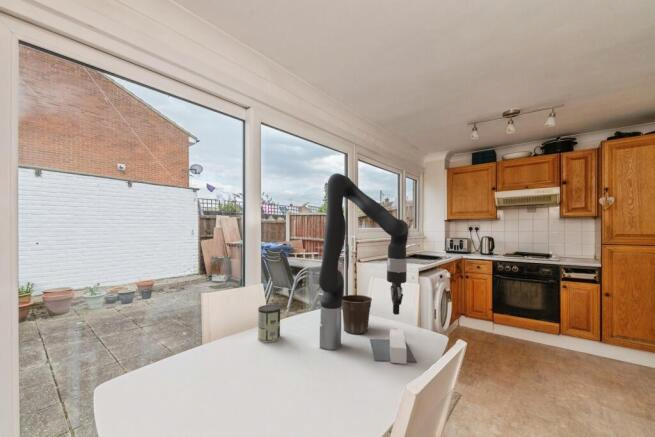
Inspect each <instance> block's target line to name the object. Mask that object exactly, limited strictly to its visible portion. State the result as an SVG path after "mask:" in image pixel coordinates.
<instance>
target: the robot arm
mask: <svg viewBox="0 0 655 437" xmlns="http://www.w3.org/2000/svg"><path fill="white" fill-rule="evenodd" d="M326 185H327V186H326V199H327V200H326V213H325V214H326V216H325V225H324V235H323V248H322V258H321V259H322V261H321V267H320V271H319V275H318V276H319V277H318V285H319V288H320V289H321V290H322V292H323V293H322V294H323V295H322V296H321V299H320V324H319V349H324V350H328V351H329V350H331V351H332V350H337V349H340V348H341V346H342V299H343V296H344V276H343V274H342V272H341V271H340V270H339V260H340V256H341V254H342V250H343V248H344V246H345V245H344V244H345V241H346V232H347V223H346V218H345V213H344V209H343V205H344V204H343V203H344V198H345V199H346V200H349V201H351V202H352V203H353V204H354V205H355V206H357V207H358V208H359V210H361V212H363V214H364V215H365V216H367V217H368V218H369V219H371V221H373V222H374V223H375V224H377V225H378V226H379V227H380V228H381V229H382V230H383V231H384V232H385V233H387V235H389V236H390V243H389V244H388V246H387V261H386V281H387V282H389V283H391V286H390V294H391V295H390V296H391V297H390V298H391V302H392V313H393V315H396V316H397V315H399V316H400V305H402V301H403V297H404V294H403V287H402V284H405V283H407V275H408V274H407V243H408V237H409V226H408V224H407V222H406V221H405V220H403V219H399V218H397V217H395V216H394V215H393V214H392V213H390V211H389V210H388V209H387V208H385V206H383V205H382V204H380V203H379V202H377V201H376V200H374V199H373V198H371V197H370V196H369V195H368V194H366V193H365V192H364V191H362V190H361V189H360V188H359V187H358V186H357V185H356V184H355V182H353V181H352V180H351V179H350V178H349V177H348V176H346V175H344V174H342V173H337V172H336V173H333V174H331V175H330V176H329V178H328V181H327V184H326Z"/></svg>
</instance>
